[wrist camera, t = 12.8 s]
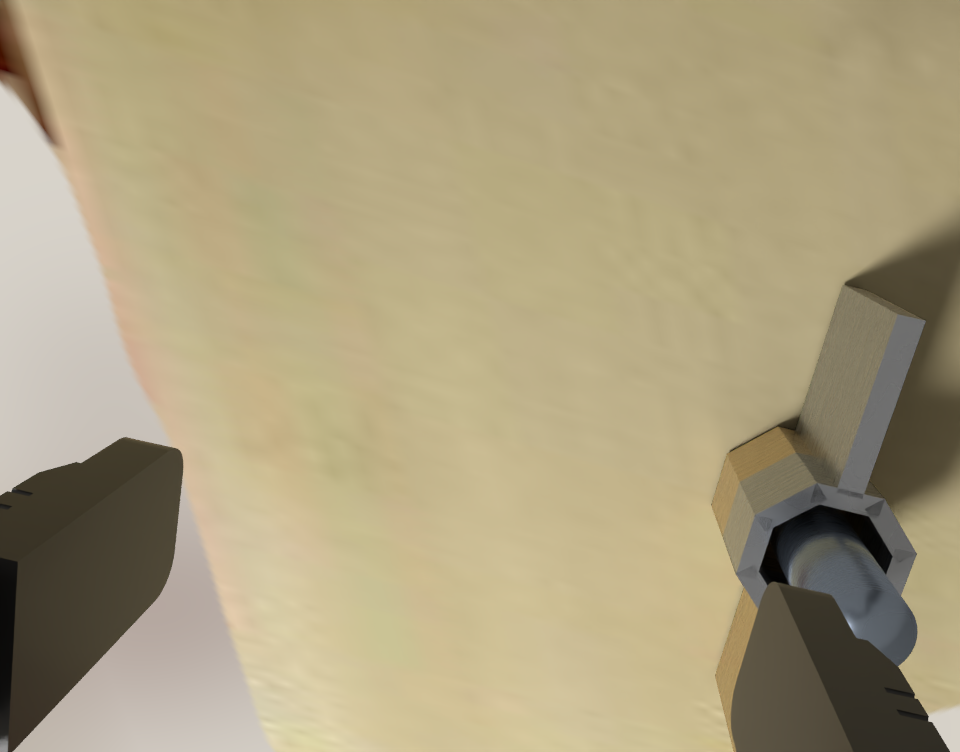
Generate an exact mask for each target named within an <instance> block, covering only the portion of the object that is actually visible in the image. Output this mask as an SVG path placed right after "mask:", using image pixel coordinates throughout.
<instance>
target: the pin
mask: <svg viewBox="0 0 960 752" xmlns="http://www.w3.org/2000/svg"><path fill="white" fill-rule="evenodd" d="M769 543H770V545H771V547H772V549H773V551H774V554H775V556H776V558H777V560H778V562H779V564H780V566H781V569H782V571H783V573H784V575H785V577H786V579H787V581H788V584H789V585H791V586H795V587H800V588H804V589H809V590H813V591H818V592H823V593H827V594H830V595H832V596H833V598H834V599H835V601H836V603H837V604H838V606H839V608H840V610H841V611H842V613H843V615H844V617H845V619H846V620H847V622H848V624H849V626H850V627H851V629H852V631H853V633H854V635H855V636H856V638H859V639H863V640H868V641H869V642H870V643H871V644H873V645H874V646H875V647H876V648H877V649H878V650H879V651H881V652H882V653H883V654H884V655H885V656H886V657H887V658H889V659H890V660H891V661H892V662H893V663H894V664H895V665H897V666H899V665H900V664H901V663H902V662H904V661H905V660H906V659H907V657H908V656H909V655H910V653H911V652H912V650H913V648H914V646H915V643H916V639H917V624H916V620H915V617H914V615H913V613H912V611H911V610H910V608H909V607H908V605H907V604H906V603H905V601H904V600H903V598H902V597H901V596H900V594H899V593H898V591H897V590H896V588H895V587H894V586H893V584H892V583H891V581H890V580H889V579H888V577H887V576H886V574H885V573H884V571H883V570H882V569H881V567H880V566H879V564H878V563H877V562H876V560H875V559H874V557H873V556H872V554H871V553H870V552H869V550H868V549H867V547H866V546H865V545H864V543H863V542H862V540H861V539H860V537H859V536H858V535H857V533H856V532H855V530H854V529H853V528H852V526H851V525H850V523H849V522H848V520H847V519H846V518H845V516H844V515H843V513H842V512H841V511H840V509H836V508H832V507H828V506H824V505H820V504H819V505H817V506H815V507H813V508H811V509H809V510H807V511H805V512H803V513H801V514H799V515H797V516H795V517H793V518H791V519H789V520H787V521H785V522H783V523H781V524H779V525H777V526H775V527H773V530H772V533H771V536H770V539H769Z"/></svg>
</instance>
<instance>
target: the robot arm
mask: <svg viewBox="0 0 960 752" xmlns="http://www.w3.org/2000/svg"><path fill="white" fill-rule="evenodd" d="M182 476H183V457H182V454H181V452H180V450H178V449H176V448H172V447H167V446H162V445H158V444H154V443H149V442H145V441H140V440H135V439H131V438H127V437H125V438H121V439H119V440H117V441H116V442H114V443H113V444H111V445H110V446H108V447H106V448H105V449H103V450H102V451H100V452H98V453H97V454H95V455H94V456H92V457H90V458H89V459H87V460H86V461H84V462H83V463H77V462H75V463H72V464H68V465H65V466H61V467H57V468H54V469H51V470H46V471H43V472H39V473H37V474H36V475H34V476H32V477H31V478H29V479H27V480H26V481H24V482H22V483H21V484H19V485H17V486H16V487H14V488H13V489H12V492H5V493H4V494H2V495H1V496H0V752H12V751H14V750H15V749H16V748H17V747H18V745H19V744H20V743H21V742H22V741H23V740H24V739H25V738H26V737H27V736H28V735H29V734H30V733H31V732H32V731H33V730H34V728H35V727H36V726H37V725H38V724H39V723H40V722H41V721H42V720H43V719H44V718H45V717H46V716H47V715H48V714H49V713H50V711H51V710H52V709H53V708H54V707H55V706H56V705H57V704H58V703H59V702H60V701H61V700H62V699H63V698H64V697H65V696H66V694H68V692H69V691H70V690H71V689H72V688H73V687H74V686H75V685H76V684H77V683H78V682H79V681H80V680H81V679H82V677H84V675H85V674H86V673H87V672H88V671H89V670H90V669H91V668H92V667H93V666H94V665H95V664H96V663H97V662H98V661H99V660H100V658H102V656H103V655H104V654H105V653H106V652H107V651H108V650H109V649H110V648H111V647H112V646H113V645H114V644H115V643H116V642H117V641H118V640H119V638H120V637H121V636H122V635H123V634H124V633H125V632H126V631H127V630H128V629H129V628H130V627H131V626H132V625H133V624H134V623H135V621H136V620H137V619H138V618H139V617H140V616H141V615H142V614H143V613H144V612H145V611H146V610H147V609H148V608H149V607H150V606H151V604H153V602H154V601H155V600H156V599H157V598H158V596H159V595H160V593H161V592H162V590H163V588H164V586H165V584H166V581H167V579H168V577H169V573H170V570H171V567H172V563H173V558H174V551H175V542H176V533H177V523H178V514H179V504H180V495H181V485H182ZM914 696H915V693H914V692H913V690H912V689H911V687H910V685H909V684H908V682H907V680H906V679H905V677H904V675H903V674H902V672H901V671H900V669H899V667H898V666H897V665H895V664H894V663H893V662H892V661H891V660H890V659H889V658H887V657H886V656H885V655H884V654H883V653H882V652H881V651H879V650H878V649H877V648H876V647H875V646H874V645H873V644H871V643H870V642H869V641H868V640H863V639H859V638H856V636H855V635H854V633H853V631H852V629H851V627H850V626H849V624H848V622H847V620H846V619H845V617H844V615H843V613H842V611H841V610H840V608H839V606H838V604H837V603H836V601H835V599H834V598H833V596H832V595H830V594H827V593H823V592H818V591H813V590H809V589H804V588H800V587H795V586H791V585H786V584H782V583H777V582H771V583H770V584H769V585H768V586H767V588H766V590H765V591H764V594H763V596H762V599H761V602H760V605H759V608H758V612H757V615H756V618H755V621H754V625H753V628H752V631H751V635H750V638H749V641H748V644H747V648H746V651H745V654H744V658H743V661H742V664H741V668H740V671H739V674H738V677H737V681H736V684H735V688H734V693H733V699H732V707H731V730H732V736H733V740H734V744H735V748H736V752H950V751H949V749H948V748H947V746H946V744H945V743H944V741H943V739H942V738H941V736H940V735H939V733H938V731H937V730H936V728H935V726H934V725H933V723H932V722H928V717H929V716H928V715H927V713H926V711H925V710H924V708H923V707H922V705H921V703H920V702H919V700H918V699H914Z"/></svg>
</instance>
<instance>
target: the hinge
mask: <svg viewBox="0 0 960 752" xmlns="http://www.w3.org/2000/svg"><path fill="white" fill-rule="evenodd" d="M925 322H926V320H924V319H922V318H920V317H918V316H916V315H914V314H912V313H910V312H908V311H906V310H904V309H902V308H900V307H898V306H896V305H894V304H893V303H891V302H889V301H887V300H885V299H883V298H881V297H879V296H877V295H875V294H873V293H871V292H869V291H867V290H864V289H860V288H856V287H851V286H847V285H843V286H842V289H841V292H840V295H839V298H838V301H837V304H836V307H835V311H834V314H833V317H832V320H831V323H830V326H829V329H828V332H827V335H826V338H825V341H824V344H823V347H822V350H821V353H820V356H819V359H818V363H817V366H816V369H815V372H814V375H813V378H812V381H811V384H810V387H809V390H808V393H807V396H806V399H805V402H804V405H803V408H802V411H801V414H800V418H799V421H798V424H797V427H796V430H791V429H787V428H782V427H776V428H774V429H772V430H771V431H769V432H767V433H765V434H763V435H761V436H759V437H758V438H756V439H754V440H752V441H750V442H748V443H746V444H745V445H743V446H741V447H739V448H737V449H735V450H733V451H732V452H730V453H728V454H727V456H726V459H725V462H724V466H723V469H722V472H721V475H720V479H719V482H718V485H717V488H716V492H715V495H714V498H713V501H712V504H711V505H712V508H713V511H714V513H715V516H716V519H717V522H718V525H719V528H720V531H721V533H722V536H723V539H724V542H725V545H726V548H727V551H728V553H729V556H730V559H731V562H732V565H733V568H734V571H735V573H736V575H737V576H738V578H739V580H740V581H741V583H742V584H743V586H744V589H743V592H742V595H741V598H740V601H739V604H738V607H737V610H736V613H735V616H734V619H733V622H732V625H731V629H730V632H729V635H728V638H727V641H726V644H725V647H724V650H723V653H722V656H721V659H720V662H719V665H718V668H717V671H716V674H715V677H716V681H717V685H718V689H719V693H720V697H721V702H722V706H723V710H724V714H725V718H726V722H727V726H728V730H729V734H730V738H731V742H732V746H733V751H734V752H736V748H735V744H734V740H733V736H732V730H731V707H732V699H733V693H734V688H735V684H736V681H737V677H738V674H739V671H740V668H741V664H742V661H743V658H744V654H745V651H746V648H747V644H748V641H749V638H750V635H751V631H752V628H753V625H754V621H755V618H756V615H757V612H758V608H759V605H760V602H761V599H762V596H763V594H764V591H765V590H766V588H767V586H768V585H769V584H770V583H771V582H777V583H782V584H786V585H789V584H788V581H787V579H786V577H785V575H784V573H783V571H782V569H781V566H780V564H779V562H778V560H777V558H776V556H775V554H774V551H773V549H772V547H771V545H770V543H769V539H770V536H771V533H772V530H773V527H775V526H777V525H779V524H781V523H783V522H785V521H787V520H789V519H791V518H793V517H795V516H797V515H799V514H801V513H803V512H805V511H807V510H809V509H811V508H813V507H815V506H817V505H819V504H820V505H824V506H828V507H832V508H836V509H840V511H841V512H842V513H843V515H844V516H845V518H846V519H847V520H848V522H849V523H850V525H851V526H852V528H853V529H854V530H855V532H856V533H857V535H858V536H859V537H860V539H861V540H862V542H863V543H864V545H865V546H866V547H867V549H868V550H869V552H870V553H871V554H872V556H873V557H874V559H875V560H876V562H877V563H878V564H879V566H880V567H881V569H882V570H883V571H884V573H885V574H886V576H887V577H888V579H889V580H890V581H891V583H892V584H893V586H894V587H895V588H896V590H897V591H898V593H899V594H900V596H901V594H902V591H903V589H904V586H905V584H906V581H907V578H908V576H909V573H910V570H911V568H912V565H913V563H914V560H915V557H916V555H917V553H916V552H915V550H914V548H913V547H912V545H911V543H910V541H909V540H908V538H907V536H906V535H905V533H904V531H903V529H902V528H901V526H900V524H899V523H898V521H897V519H896V518H895V516H894V514H893V512H892V511H891V509H890V507H889V506H888V504H887V502H886V500H885V498H884V497H883V496H882V495H881V494H880V493H879V491H878V490H877V489H876V488H875V487H874V485H873V484H872V483H871V482H870V481H869V479H870V476H871V473H872V470H873V468H874V465H875V462H876V459H877V456H878V454H879V451H880V448H881V445H882V442H883V440H884V437H885V434H886V431H887V428H888V426H889V423H890V420H891V417H892V414H893V412H894V409H895V406H896V403H897V400H898V398H899V395H900V392H901V389H902V386H903V384H904V381H905V378H906V375H907V372H908V370H909V367H910V364H911V361H912V358H913V356H914V353H915V350H916V347H917V344H918V342H919V339H920V336H921V333H922V330H923V327H924V325H925Z"/></svg>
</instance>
